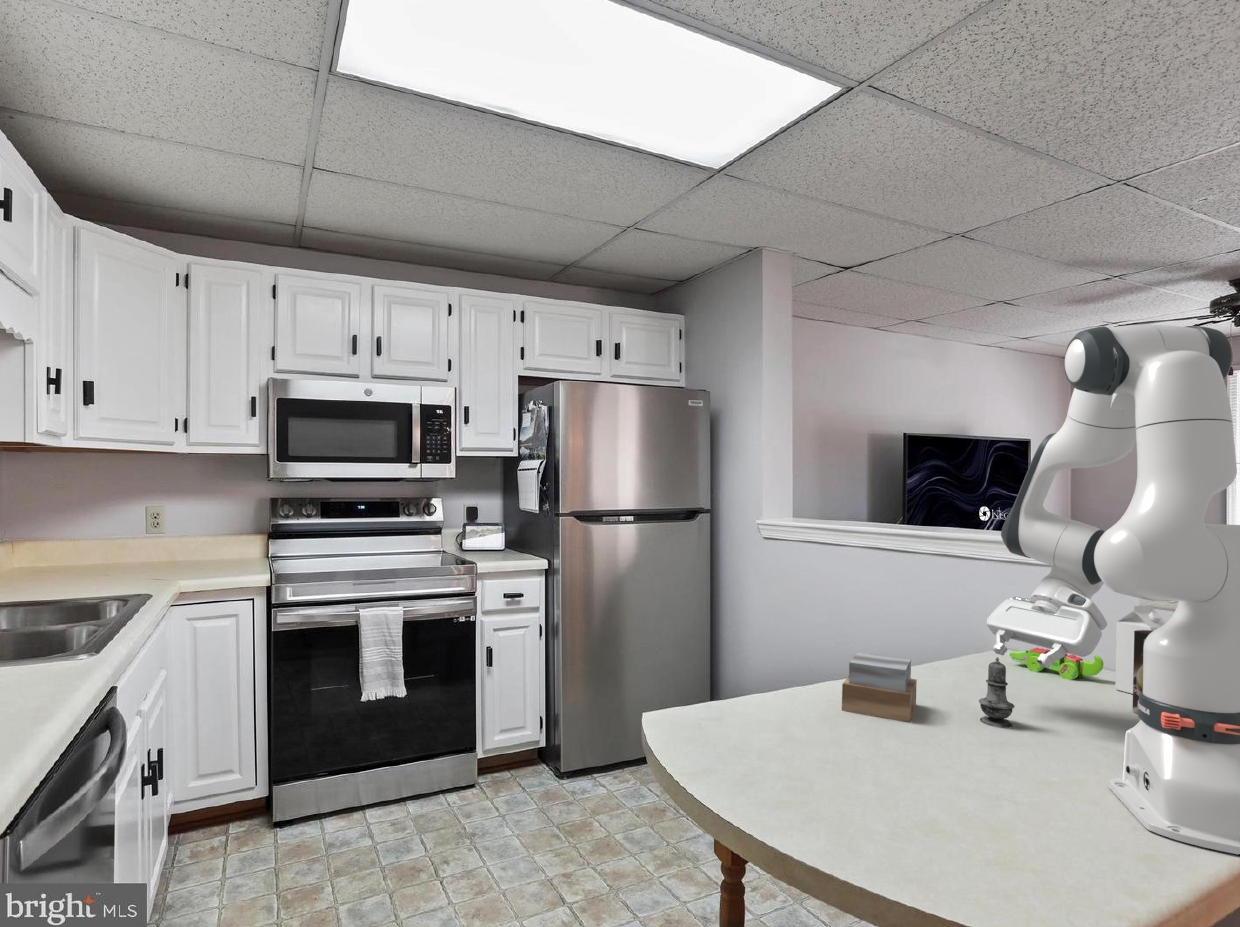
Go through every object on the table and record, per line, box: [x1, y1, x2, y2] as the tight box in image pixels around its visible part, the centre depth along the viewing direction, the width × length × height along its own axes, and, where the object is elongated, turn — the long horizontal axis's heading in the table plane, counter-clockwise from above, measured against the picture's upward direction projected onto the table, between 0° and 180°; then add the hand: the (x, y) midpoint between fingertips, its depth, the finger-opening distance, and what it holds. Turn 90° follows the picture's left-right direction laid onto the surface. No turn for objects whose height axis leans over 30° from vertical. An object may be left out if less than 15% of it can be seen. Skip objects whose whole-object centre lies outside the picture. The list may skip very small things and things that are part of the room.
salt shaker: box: [978, 656, 1015, 729], centre depth 133 cm, size 6×6×12 cm
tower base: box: [841, 651, 918, 723], centre depth 139 cm, size 12×12×9 cm
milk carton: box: [1114, 604, 1168, 695], centre depth 156 cm, size 7×7×19 cm
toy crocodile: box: [1009, 647, 1104, 681], centre depth 171 cm, size 20×7×6 cm, turn 35°
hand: (1019, 658), depth 135 cm, fingers open, 8 cm apart
